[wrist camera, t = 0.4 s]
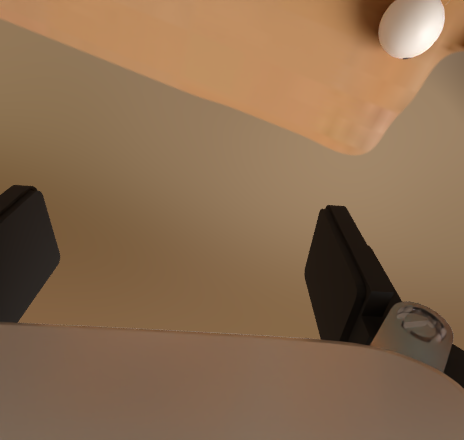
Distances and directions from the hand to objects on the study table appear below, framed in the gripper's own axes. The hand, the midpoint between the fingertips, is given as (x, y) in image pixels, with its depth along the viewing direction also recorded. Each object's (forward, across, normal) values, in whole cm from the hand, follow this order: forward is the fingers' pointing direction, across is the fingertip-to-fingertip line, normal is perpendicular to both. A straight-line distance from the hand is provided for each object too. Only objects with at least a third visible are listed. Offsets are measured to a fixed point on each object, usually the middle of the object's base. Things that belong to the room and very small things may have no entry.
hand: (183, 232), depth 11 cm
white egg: (+30, -19, -7) cm, 36 cm away
